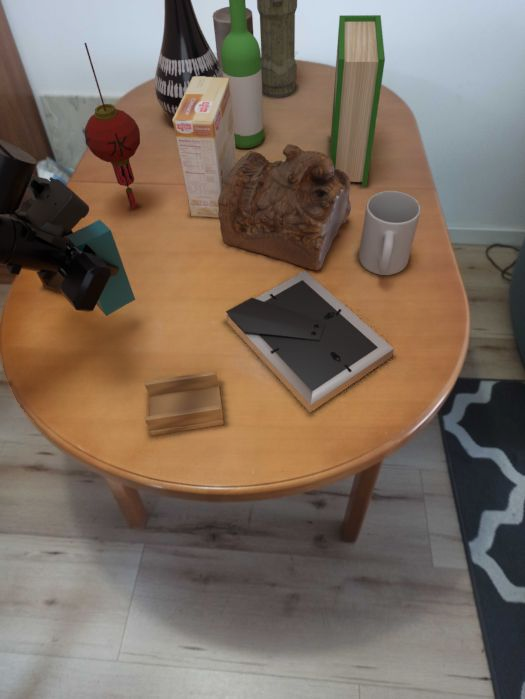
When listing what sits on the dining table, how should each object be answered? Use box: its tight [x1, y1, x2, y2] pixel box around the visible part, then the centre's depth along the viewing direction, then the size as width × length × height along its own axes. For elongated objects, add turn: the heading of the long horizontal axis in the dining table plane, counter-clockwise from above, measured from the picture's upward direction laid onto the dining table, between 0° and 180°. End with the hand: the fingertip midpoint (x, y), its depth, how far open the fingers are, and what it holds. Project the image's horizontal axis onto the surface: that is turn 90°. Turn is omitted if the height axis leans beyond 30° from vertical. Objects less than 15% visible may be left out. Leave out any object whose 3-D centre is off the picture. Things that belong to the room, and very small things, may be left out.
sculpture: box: [218, 143, 352, 271], centre depth 89 cm, size 19×18×20 cm
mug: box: [358, 190, 421, 276], centre depth 83 cm, size 12×8×11 cm
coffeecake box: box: [171, 76, 238, 219], centre depth 94 cm, size 15×7×20 cm, turn 171°
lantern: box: [84, 42, 141, 211], centre depth 88 cm, size 10×10×30 cm
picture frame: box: [225, 270, 395, 414], centre depth 77 cm, size 16×3×21 cm
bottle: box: [221, 0, 265, 149], centre depth 101 cm, size 8×8×30 cm
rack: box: [35, 271, 63, 295], centre depth 88 cm, size 10×7×4 cm, turn 159°
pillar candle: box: [211, 6, 254, 71], centre depth 126 cm, size 10×10×15 cm
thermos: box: [256, 0, 298, 99], centre depth 112 cm, size 9×12×35 cm
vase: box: [154, 0, 223, 119], centre depth 108 cm, size 16×16×30 cm
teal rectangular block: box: [67, 219, 136, 317], centre depth 71 cm, size 5×3×13 cm, turn 130°
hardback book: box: [329, 14, 386, 188], centre depth 97 cm, size 18×7×24 cm, turn 174°
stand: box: [144, 370, 225, 436], centre depth 70 cm, size 10×7×4 cm, turn 99°
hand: (111, 264), depth 71 cm, fingers closed on teal rectangular block, 3 cm apart
